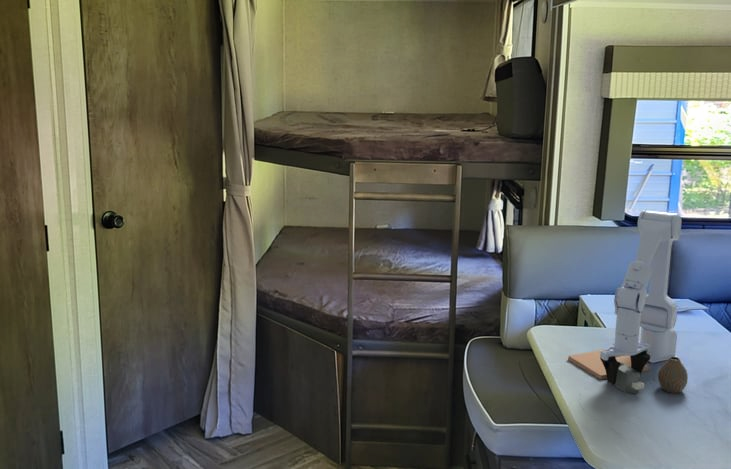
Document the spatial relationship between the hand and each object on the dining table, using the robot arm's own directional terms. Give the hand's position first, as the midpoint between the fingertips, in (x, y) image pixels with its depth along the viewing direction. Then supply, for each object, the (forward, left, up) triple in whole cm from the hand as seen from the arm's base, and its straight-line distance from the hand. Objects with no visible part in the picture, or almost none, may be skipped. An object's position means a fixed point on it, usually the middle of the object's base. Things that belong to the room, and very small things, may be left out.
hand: (623, 380), depth 172 cm
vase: (-10, +6, -2) cm, 12 cm away
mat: (-5, -12, -1) cm, 13 cm away
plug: (0, 0, -1) cm, 1 cm away
